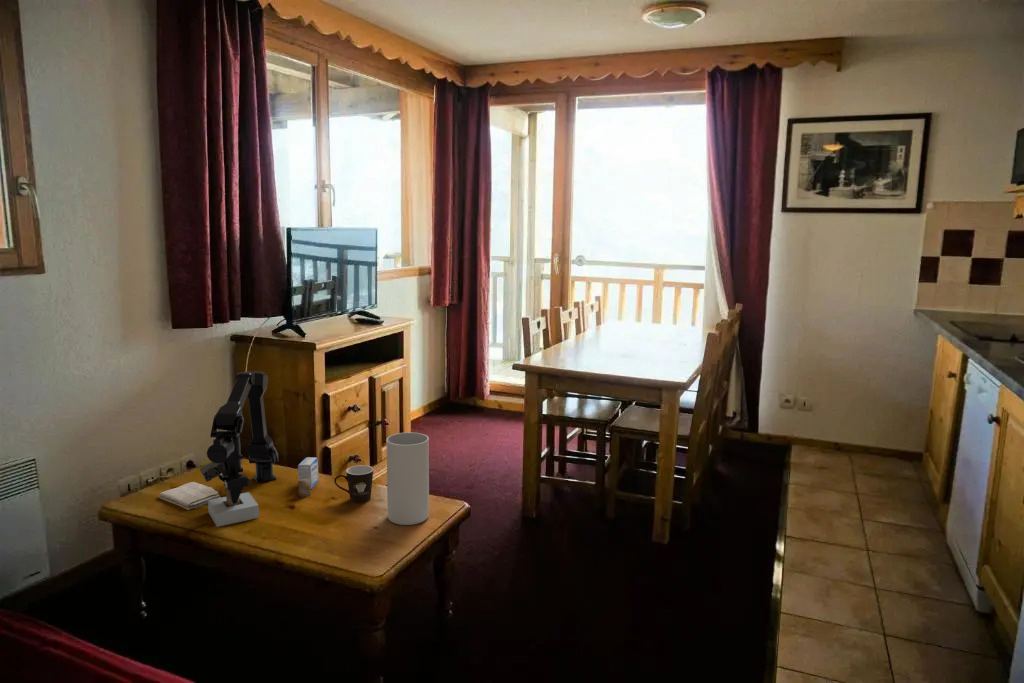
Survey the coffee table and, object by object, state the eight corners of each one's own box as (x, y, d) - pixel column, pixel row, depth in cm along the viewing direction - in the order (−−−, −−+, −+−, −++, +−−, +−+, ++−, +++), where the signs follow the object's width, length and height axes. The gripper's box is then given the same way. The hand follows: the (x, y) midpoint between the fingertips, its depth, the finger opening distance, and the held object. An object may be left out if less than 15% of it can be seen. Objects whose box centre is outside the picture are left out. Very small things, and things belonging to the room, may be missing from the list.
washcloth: (189, 512, 210) (189, 503, 209) (156, 499, 219) (156, 490, 219) (224, 500, 219) (223, 490, 219) (191, 488, 229) (190, 479, 228)
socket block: (208, 512, 208) (207, 500, 208) (249, 504, 215) (248, 492, 215) (216, 526, 199) (216, 513, 198) (259, 517, 205) (258, 505, 205)
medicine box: (311, 489, 228) (310, 465, 227) (298, 489, 228) (297, 464, 227) (318, 481, 236) (318, 457, 234) (306, 480, 236) (305, 456, 234)
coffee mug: (378, 495, 224) (377, 466, 222) (368, 505, 215) (367, 475, 214) (344, 492, 226) (344, 463, 224) (333, 502, 217) (332, 472, 216)
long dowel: (226, 510, 207) (224, 482, 206) (238, 507, 209) (236, 479, 208) (228, 514, 204) (227, 486, 203) (241, 511, 206) (239, 483, 205)
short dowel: (297, 494, 224) (296, 480, 223) (308, 492, 226) (307, 478, 225) (300, 498, 221) (300, 483, 220) (311, 495, 223) (311, 481, 222)
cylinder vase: (435, 511, 212) (434, 434, 208) (419, 528, 200) (418, 447, 196) (398, 507, 215) (397, 430, 211) (380, 523, 203) (379, 442, 199)
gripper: (195, 447, 207) (198, 496, 209) (207, 465, 192) (210, 518, 194) (233, 441, 213) (236, 489, 216) (248, 458, 198) (251, 509, 200)
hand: (233, 501), depth 206 cm, fingers closed on long dowel, 4 cm apart
